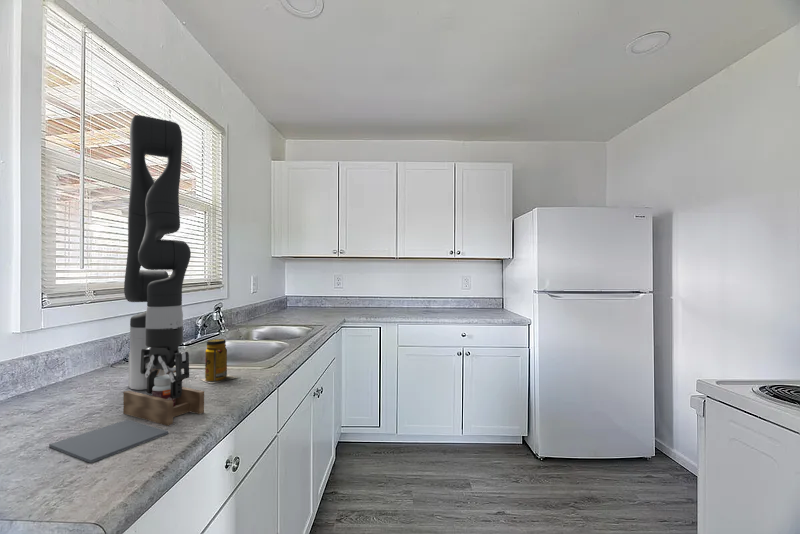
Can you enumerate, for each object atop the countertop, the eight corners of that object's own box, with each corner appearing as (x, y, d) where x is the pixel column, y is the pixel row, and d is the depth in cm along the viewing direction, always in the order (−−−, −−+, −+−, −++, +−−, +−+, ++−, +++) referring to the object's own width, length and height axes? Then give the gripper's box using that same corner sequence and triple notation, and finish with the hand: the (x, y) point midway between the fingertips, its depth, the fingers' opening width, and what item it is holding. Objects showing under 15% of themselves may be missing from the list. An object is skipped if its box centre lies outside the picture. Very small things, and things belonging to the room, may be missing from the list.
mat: (49, 446, 76) (49, 444, 76) (127, 421, 88) (127, 419, 88) (90, 463, 69) (90, 460, 69) (168, 433, 82) (168, 431, 82)
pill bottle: (164, 417, 91) (165, 380, 91) (146, 416, 92) (147, 379, 92) (180, 410, 95) (180, 375, 95) (163, 408, 96) (163, 373, 96)
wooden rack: (123, 413, 93) (123, 391, 93) (160, 402, 101) (160, 382, 101) (167, 425, 86) (167, 402, 86) (204, 412, 94) (204, 391, 94)
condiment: (199, 379, 122) (200, 340, 122) (226, 374, 128) (227, 336, 128) (210, 384, 117) (211, 343, 117) (238, 378, 123) (238, 339, 124)
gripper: (129, 325, 93) (128, 395, 93) (168, 329, 87) (168, 404, 87) (160, 322, 100) (160, 387, 100) (199, 325, 94) (199, 394, 93)
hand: (164, 395), depth 93 cm, fingers open, 8 cm apart
